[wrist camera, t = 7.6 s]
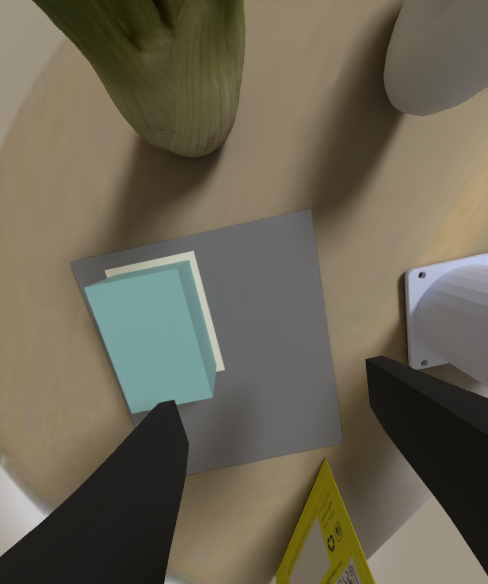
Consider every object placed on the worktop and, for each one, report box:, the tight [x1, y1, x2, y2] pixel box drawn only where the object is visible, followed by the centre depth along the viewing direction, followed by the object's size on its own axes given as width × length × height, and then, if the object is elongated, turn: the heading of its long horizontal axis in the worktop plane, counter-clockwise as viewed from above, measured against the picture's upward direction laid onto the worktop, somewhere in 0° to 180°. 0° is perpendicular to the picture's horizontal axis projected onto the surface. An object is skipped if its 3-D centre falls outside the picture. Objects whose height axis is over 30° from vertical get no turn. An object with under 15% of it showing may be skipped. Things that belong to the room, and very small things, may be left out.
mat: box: [70, 209, 343, 476], centre depth 19 cm, size 16×19×1 cm
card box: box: [84, 260, 217, 414], centre depth 16 cm, size 8×5×4 cm, turn 12°
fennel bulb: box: [32, 0, 246, 158], centre depth 9 cm, size 6×5×12 cm
